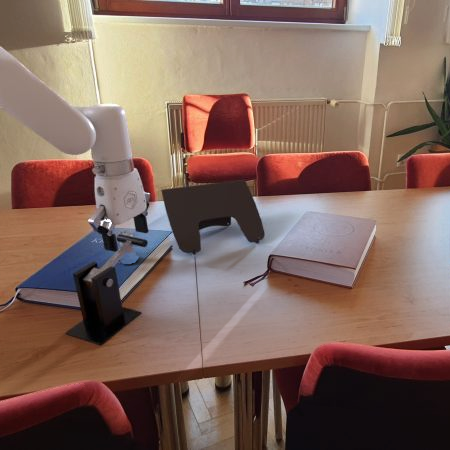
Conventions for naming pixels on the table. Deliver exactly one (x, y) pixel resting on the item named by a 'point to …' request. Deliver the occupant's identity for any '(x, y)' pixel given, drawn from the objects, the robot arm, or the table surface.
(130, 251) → the rook chess piece
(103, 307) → the bracket
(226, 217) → the laptop tray
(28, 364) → the table surface
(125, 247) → the lever
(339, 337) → the table surface
